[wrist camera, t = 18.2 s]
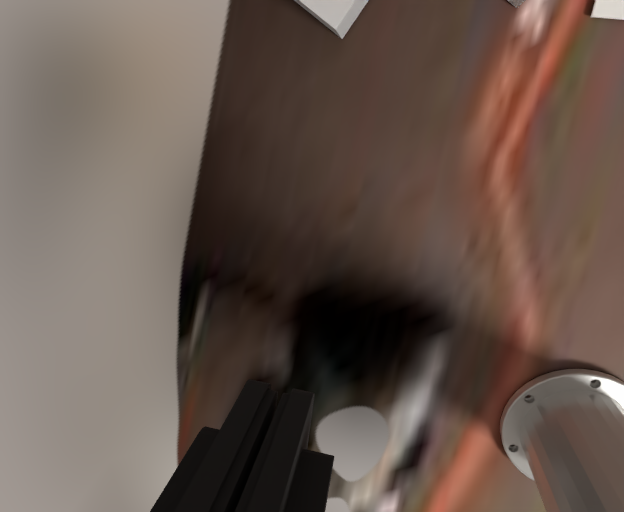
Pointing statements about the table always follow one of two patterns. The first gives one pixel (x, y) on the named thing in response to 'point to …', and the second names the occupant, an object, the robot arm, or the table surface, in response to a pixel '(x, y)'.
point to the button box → (334, 13)
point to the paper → (608, 9)
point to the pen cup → (516, 2)
